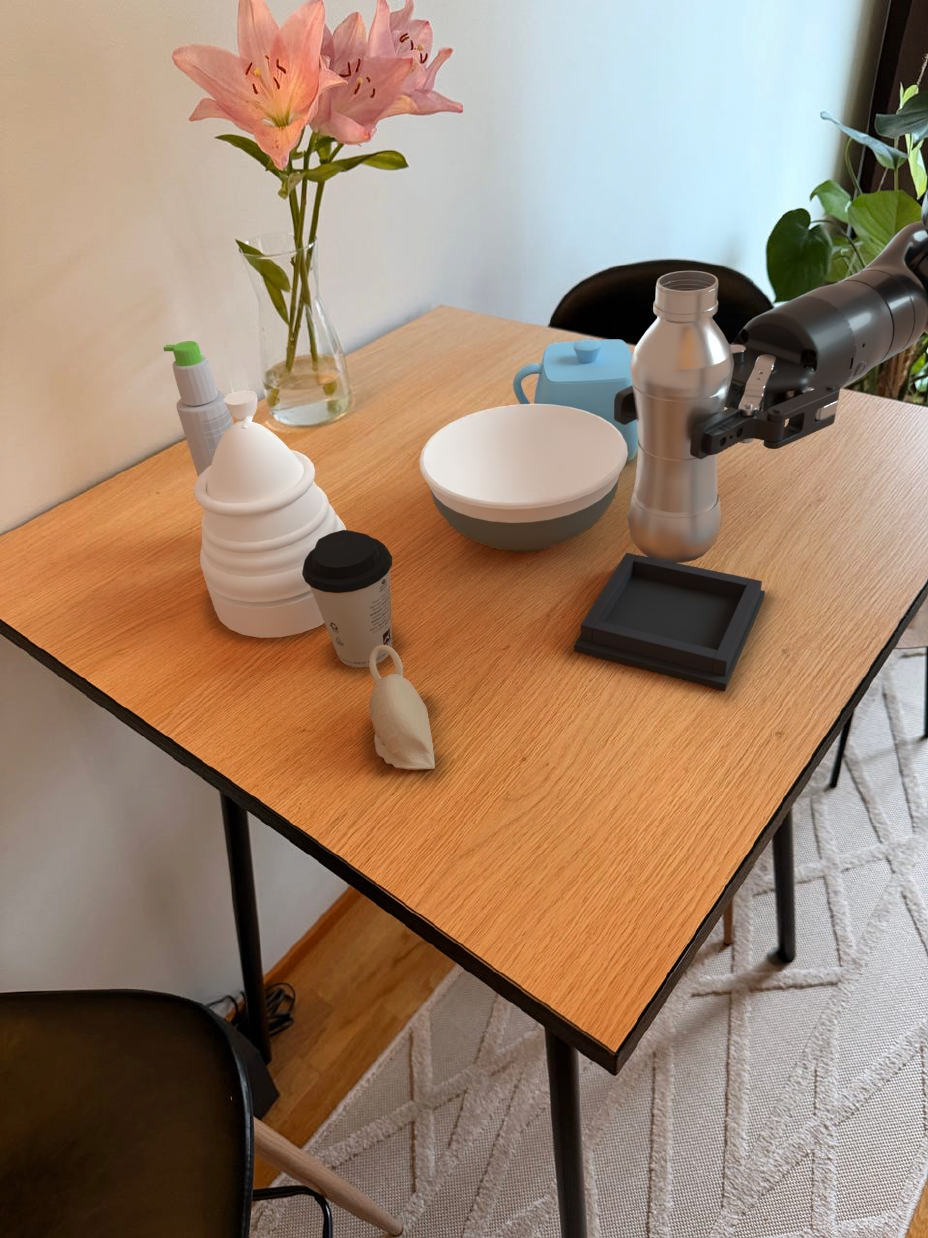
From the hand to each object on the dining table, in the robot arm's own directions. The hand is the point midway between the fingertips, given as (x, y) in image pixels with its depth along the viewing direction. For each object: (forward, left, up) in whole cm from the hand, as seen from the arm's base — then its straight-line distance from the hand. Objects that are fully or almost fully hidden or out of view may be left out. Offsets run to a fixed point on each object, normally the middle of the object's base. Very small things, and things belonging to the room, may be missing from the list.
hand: (655, 426), depth 60 cm
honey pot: (+32, +5, -19) cm, 37 cm away
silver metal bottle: (-1, -2, -11) cm, 11 cm away
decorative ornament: (+13, +16, -19) cm, 28 cm away
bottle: (+41, 0, -19) cm, 45 cm away
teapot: (+15, -29, -19) cm, 38 cm away
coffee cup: (+21, +9, -19) cm, 30 cm away
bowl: (+16, -12, -19) cm, 28 cm away
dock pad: (-1, -3, -19) cm, 19 cm away
